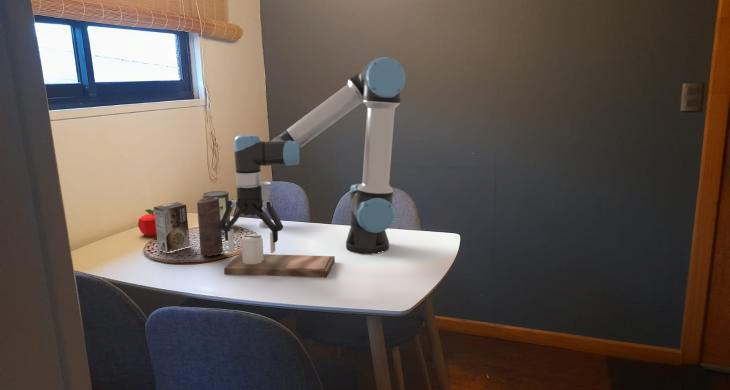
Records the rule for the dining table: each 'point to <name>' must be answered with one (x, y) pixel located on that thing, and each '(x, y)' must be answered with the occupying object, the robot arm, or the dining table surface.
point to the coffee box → (172, 226)
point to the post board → (283, 266)
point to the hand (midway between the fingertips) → (252, 251)
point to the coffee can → (222, 201)
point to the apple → (148, 224)
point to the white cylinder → (252, 249)
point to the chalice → (264, 199)
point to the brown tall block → (209, 226)
